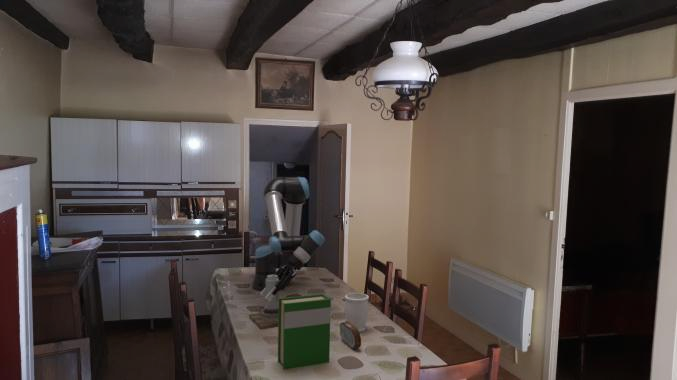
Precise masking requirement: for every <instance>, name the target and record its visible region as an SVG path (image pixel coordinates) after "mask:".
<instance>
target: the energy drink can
mask: <svg viewBox="0 0 677 380" xmlns="http://www.w3.org/2000/svg"><path fill="white" fill-rule="evenodd" d="M279 281H280V280H279V278H278V276H277V275H268V276H267V278H266V296H267V295H268V294H269V292H270V291H271V290H272V289H273V288H274V287H275V285H277V284H278V283H279ZM266 296H265V297H266ZM279 298H280V290H279V291H278V293H277V294H276V295H275V296H274V297H273V298H272V299H271V301H270V302H269V301H268V300H267V299H266V298H264V299H265V300H264V301H265V308H267V309H268V310H276V309H277V308H279Z"/></svg>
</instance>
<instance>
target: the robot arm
mask: <svg viewBox="0 0 677 380" xmlns="http://www.w3.org/2000/svg"><path fill="white" fill-rule="evenodd" d="M309 197H310V186H309V182H308V179H307V178H306V177H303V176H302V177H301V176H278V177H277V176H276V177H274V178H272V179H271V180H270V181H269V182H268V183H267V184H266V185H265V187H264V190H263V200H264V202H265V204H266V207H267V214H268V220H269V224H270V232H271V236H270V237H269V238H268V245H267V244H266V245H262V246H260V247H258V248H256V249H255V255H254V258H255V260H254V261H255V267H254V269H255V270H254V271H255V272H254V277H253V280H252V281H251V282H252V283H251V288H252V289H253V290H255V291H261V292H260V293H259V295H260V296H261V297H263V298H264V299H265V298H266V299H267V300H268V301H269V302H270V301H271V299H272V298H273V297H274V296H275V295H276V294H277V293H278V291H279V292H280V291H284V290H285V289H286V287H287V286H288V285H289V284H290V282H292V281H293V279H294V278H295V277H296V276H297V275H298V274H297V271H300V270H301V269H302V268H303V267H304V265H305V264H307V262H308V261H309V260H310V259H311V258H312V256H313V255H314V254H315V253H316V252H317V251H318V250H319V248H321V246H322V245H323V244H324V243H325V241H326V238H325V236H323V234H322V233H321V232H319V231H318V230H316V229H315V230H312V231H311V232H310V233H309V234H308V235H300V233H301V231H300V230H301V221H302V212H303V211H302V209H303V205H304V204H305V203H306V200H307V199H309ZM282 200H283V202H284V203H285V204H286V206H285V213H284V209H283V203H282ZM268 275H277V276H278V278H279V283H278V284H277V285H275V287H274V288H273V289H272V290H271V291H270V292H269V294H268V295H267V296H266V278H267V276H268Z"/></svg>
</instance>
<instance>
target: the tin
mask: <svg viewBox="0 0 677 380" xmlns="http://www.w3.org/2000/svg"><path fill="white" fill-rule="evenodd" d="M339 333H340V334H339V335H340V337H341V340H342V341H343V343H344V344H346V345H347V346H348V347H349V348H350V349H353V350H356V349H360V348H361V346H362V337H361V334H360V333H361V332H359V331H358V329H357V328H356V327H355V326H353V325H352V324H351V323H350V322H348V321H346V320H345V321H343V322H341V323H340V325H339Z"/></svg>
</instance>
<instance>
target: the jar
mask: <svg viewBox="0 0 677 380" xmlns="http://www.w3.org/2000/svg"><path fill="white" fill-rule="evenodd" d="M369 297H370V296H369V295H368V294H365V293H361V292H360V293H359V292H352V293H350V292H349V293H347V294H345V296H344V299H345V301H344V302H345V303H344V317H345V322H346V321H348V322H350V323H351V324H352V325H353V326H355V327H356V328H357V329H358V331H359V333H363V332H365V330H366V324H367V320H368V316H369V301H368V300H369V299H370V298H369Z"/></svg>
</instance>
